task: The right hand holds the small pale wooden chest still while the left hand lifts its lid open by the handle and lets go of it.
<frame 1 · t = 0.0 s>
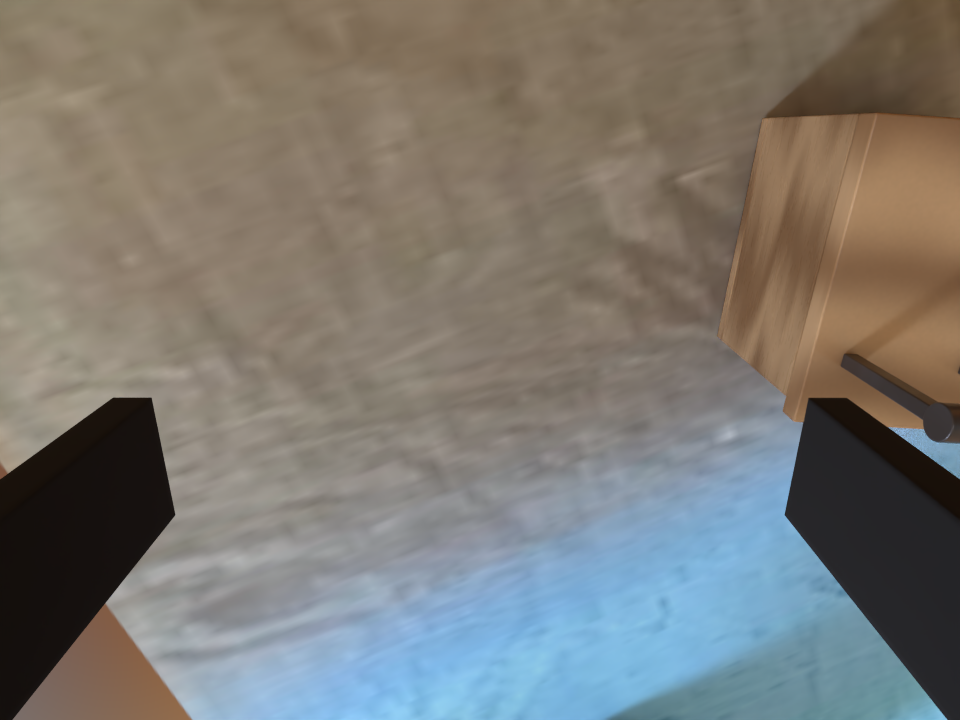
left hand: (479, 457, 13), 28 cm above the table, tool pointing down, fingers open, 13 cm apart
chest: (812, 238, 39), on the table
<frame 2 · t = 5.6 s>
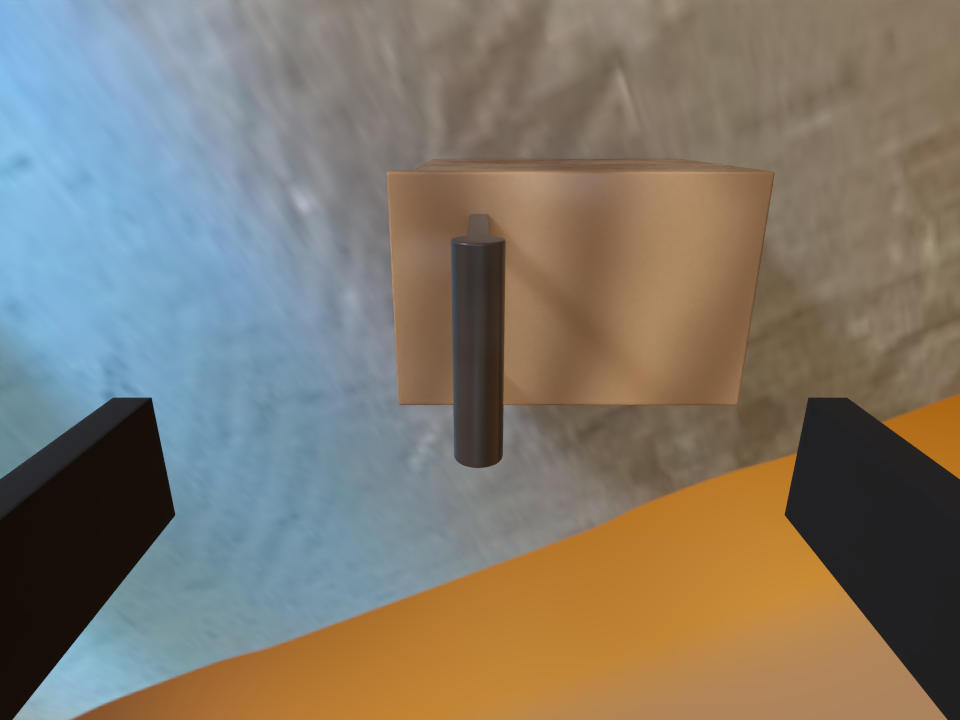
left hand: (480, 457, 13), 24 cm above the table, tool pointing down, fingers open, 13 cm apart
lid: (586, 319, 22), point 14 cm above the table, hinge at 0.0°
chest: (553, 247, 35), on the table
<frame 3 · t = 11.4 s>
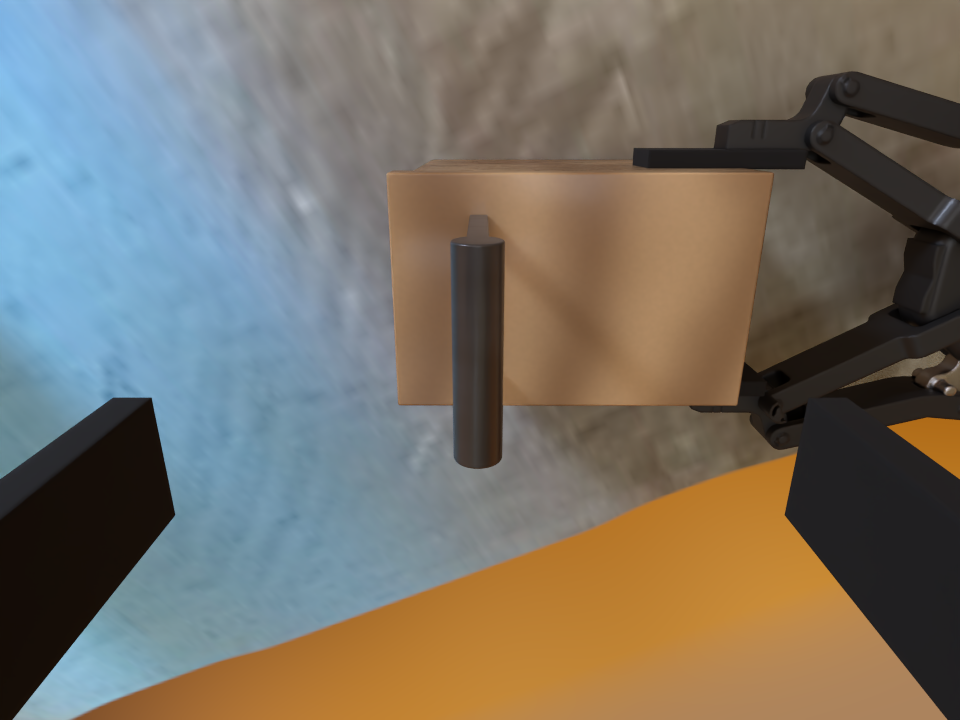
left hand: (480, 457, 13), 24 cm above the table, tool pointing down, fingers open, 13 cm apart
lid: (586, 320, 22), point 14 cm above the table, hinge at 0.0°
chest: (553, 247, 35), on the table, touching right hand
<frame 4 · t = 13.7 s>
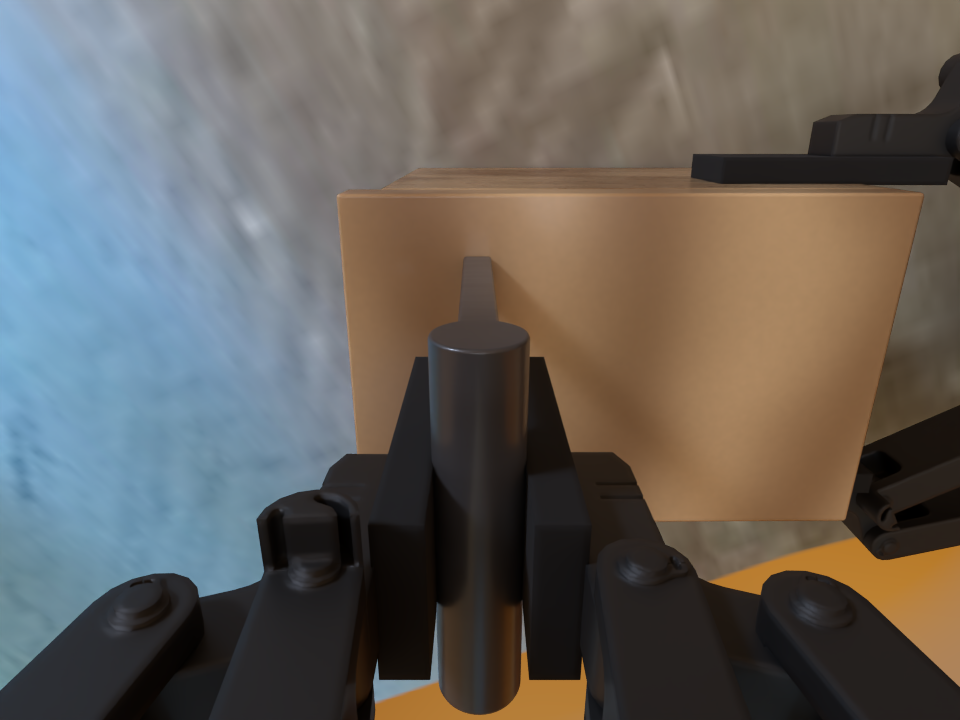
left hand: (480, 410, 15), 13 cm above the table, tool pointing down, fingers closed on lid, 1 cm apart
lid: (647, 426, 14), point 14 cm above the table, hinge at 0.8°, touching left hand
chest: (574, 280, 27), on the table, touching right hand
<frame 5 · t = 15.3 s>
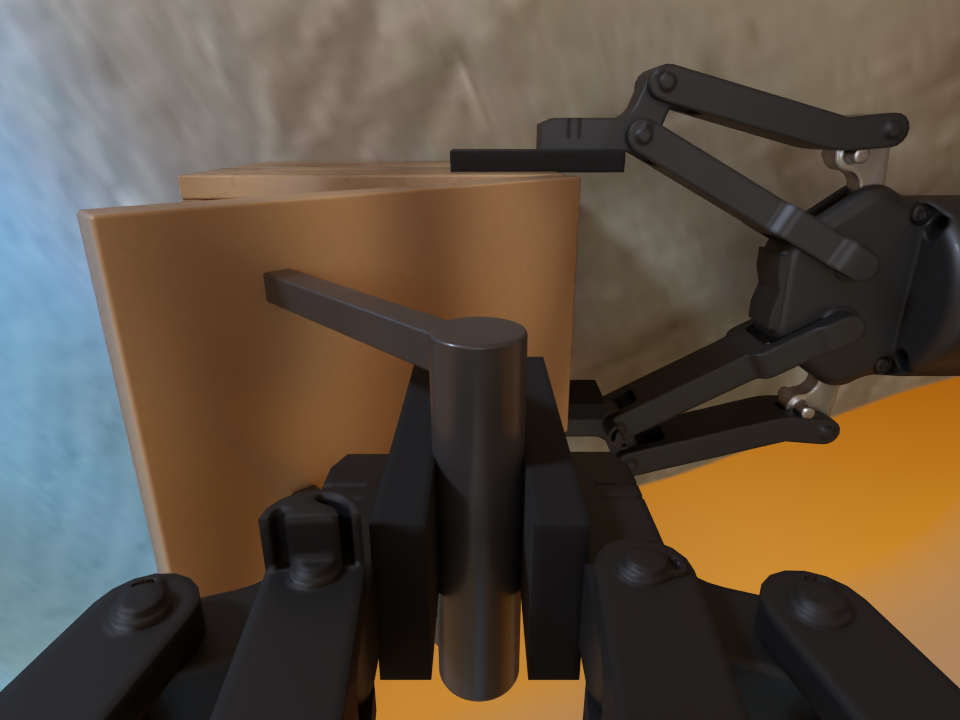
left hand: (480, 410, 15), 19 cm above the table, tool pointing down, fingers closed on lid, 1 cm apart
right hand: (453, 288, 26), fingers closed on chest, 10 cm apart
lid: (490, 394, 15), point 18 cm above the table, hinge at 42.7°, touching left hand
chest: (406, 256, 33), on the table, touching right hand
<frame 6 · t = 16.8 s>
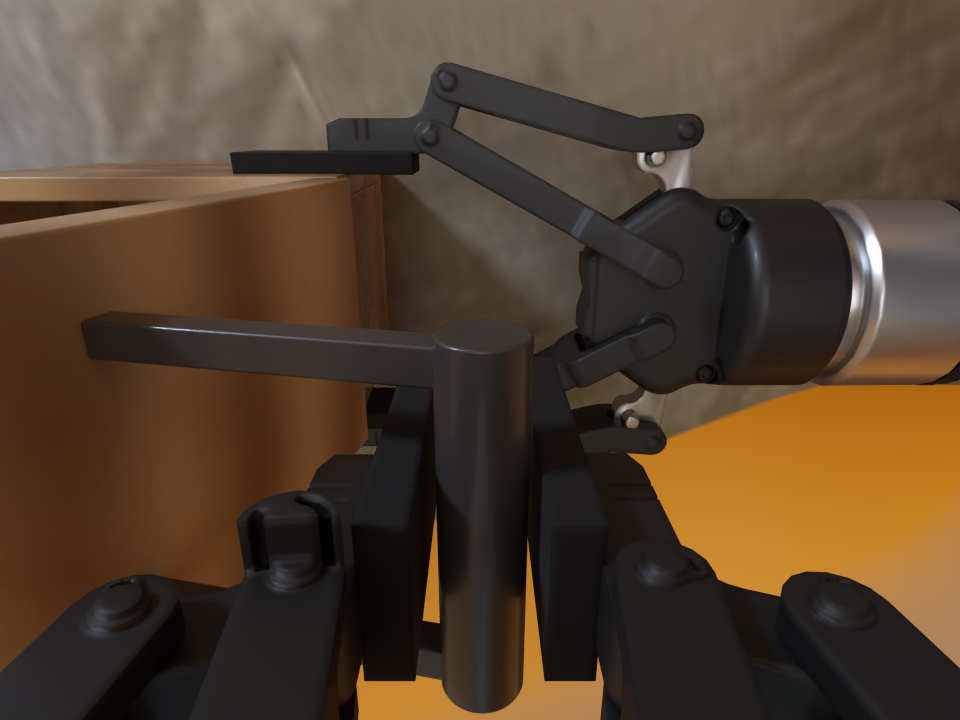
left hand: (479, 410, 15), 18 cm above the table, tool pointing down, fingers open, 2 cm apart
right hand: (261, 293, 25), fingers closed on chest, 9 cm apart
lid: (364, 411, 15), point 18 cm above the table, hinge at 77.4°
chest: (253, 259, 32), on the table, touching right hand
when the right hand's fingers open (7 cm above the table, at t = 21.2 s): chest stays where it is, on the table.
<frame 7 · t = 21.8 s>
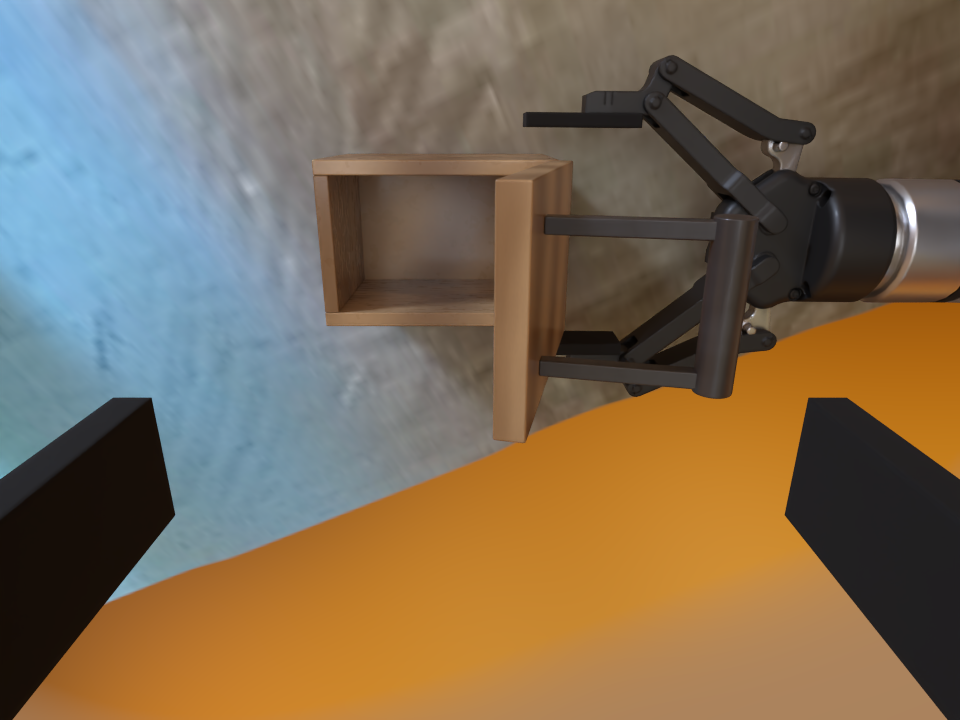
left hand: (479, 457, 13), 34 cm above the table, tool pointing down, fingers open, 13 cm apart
right hand: (519, 237, 38), fingers open, 13 cm apart
lid: (624, 281, 27), point 18 cm above the table, hinge at 76.8°
chest: (446, 223, 45), on the table
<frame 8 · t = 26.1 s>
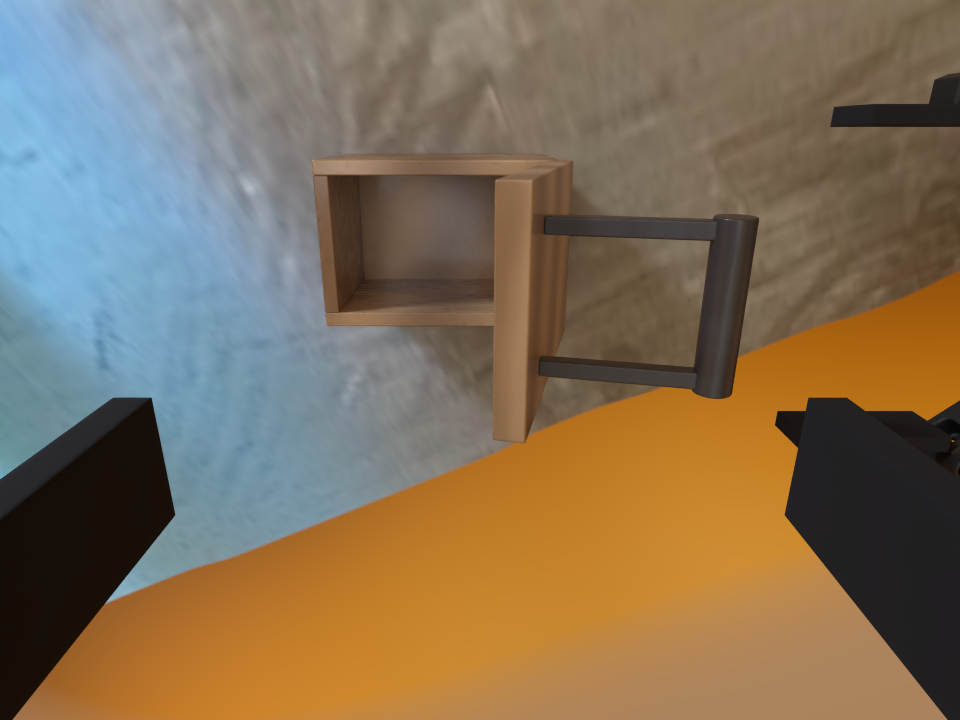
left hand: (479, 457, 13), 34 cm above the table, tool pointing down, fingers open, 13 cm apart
lid: (624, 281, 27), point 18 cm above the table, hinge at 76.8°
chest: (446, 223, 45), on the table
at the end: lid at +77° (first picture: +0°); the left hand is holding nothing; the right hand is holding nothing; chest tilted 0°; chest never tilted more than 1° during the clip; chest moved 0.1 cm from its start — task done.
